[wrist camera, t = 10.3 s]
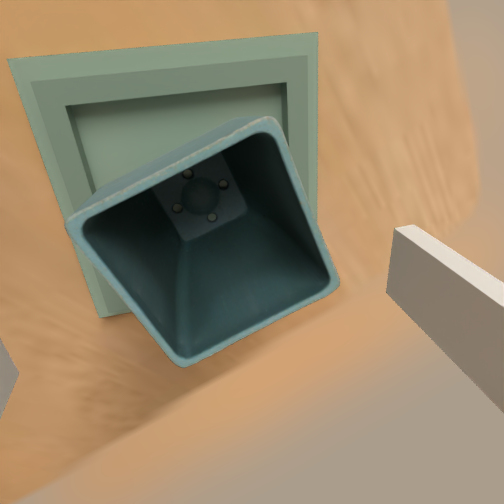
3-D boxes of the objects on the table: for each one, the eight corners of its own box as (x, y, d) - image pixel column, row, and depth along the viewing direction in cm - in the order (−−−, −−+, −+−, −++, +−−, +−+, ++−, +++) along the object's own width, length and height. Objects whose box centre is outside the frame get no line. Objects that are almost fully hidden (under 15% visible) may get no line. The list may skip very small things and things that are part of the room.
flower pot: (233, 91, 21) (276, 110, 13) (288, 218, 25) (344, 289, 17) (95, 162, 21) (56, 223, 13) (174, 276, 25) (179, 372, 17)
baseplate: (101, 308, 26) (96, 329, 24) (15, 59, 19) (-3, 59, 17) (311, 268, 29) (322, 284, 27) (310, 33, 21) (326, 30, 19)
